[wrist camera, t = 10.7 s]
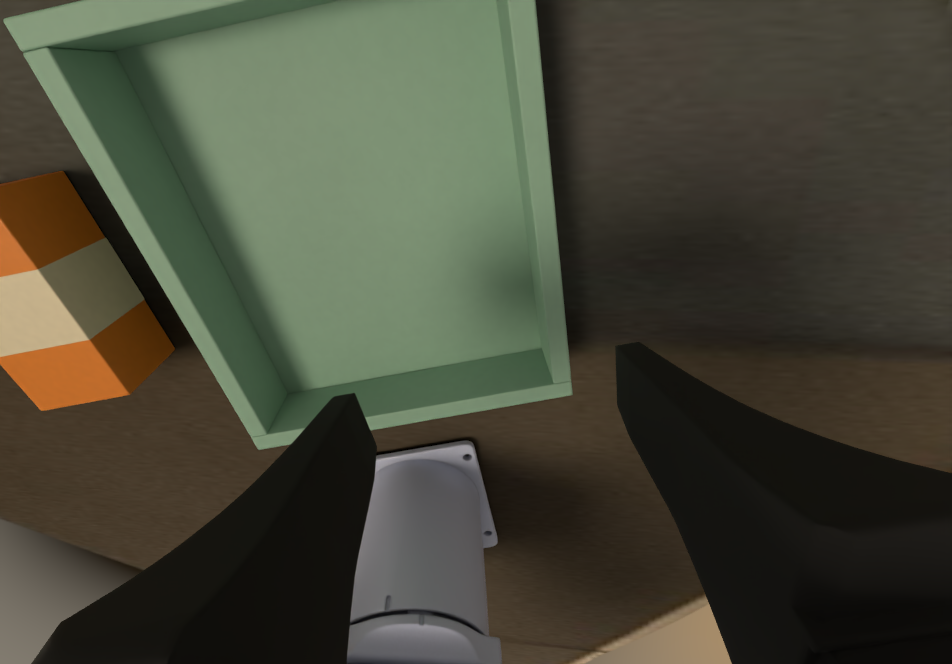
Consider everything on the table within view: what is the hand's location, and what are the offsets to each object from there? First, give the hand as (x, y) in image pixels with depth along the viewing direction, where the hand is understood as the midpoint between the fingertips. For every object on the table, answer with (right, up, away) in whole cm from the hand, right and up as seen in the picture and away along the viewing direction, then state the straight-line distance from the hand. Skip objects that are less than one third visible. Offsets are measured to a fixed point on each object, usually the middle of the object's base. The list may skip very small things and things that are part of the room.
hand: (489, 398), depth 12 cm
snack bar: (-18, +4, +7) cm, 20 cm away
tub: (-5, +6, +7) cm, 11 cm away
